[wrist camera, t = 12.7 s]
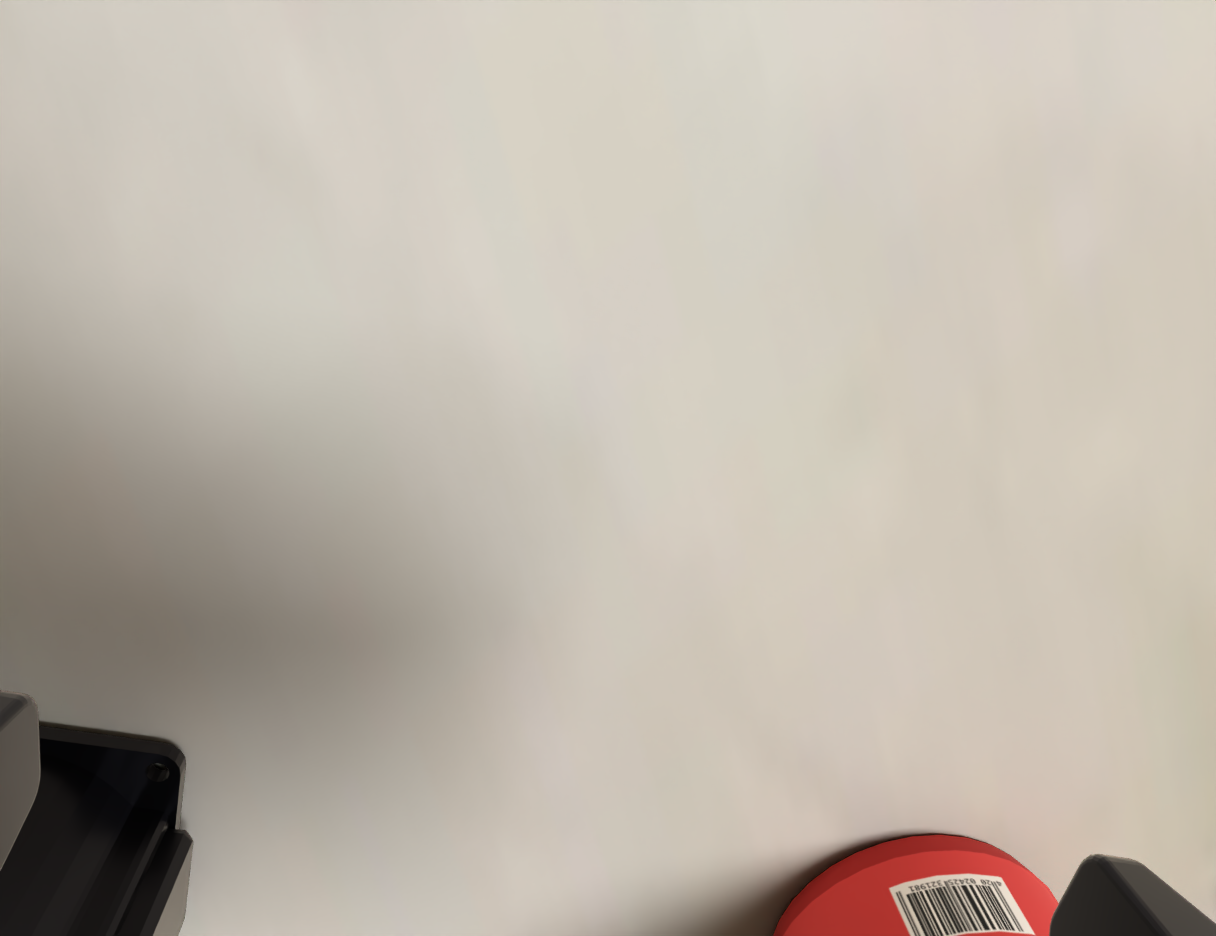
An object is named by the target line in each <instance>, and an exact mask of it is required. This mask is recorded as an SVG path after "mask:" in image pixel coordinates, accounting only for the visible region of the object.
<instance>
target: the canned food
mask: <svg viewBox="0 0 1216 936" xmlns="http://www.w3.org/2000/svg"><path fill="white" fill-rule="evenodd" d="M1058 904H1059V903H1058V902H1057V900H1056V899H1055V897H1054V896H1053V894H1052V892H1051V891H1050V889H1049V888H1048V887H1047V886H1046V885H1045V884H1044V883H1043V882H1042V881H1041V880H1039V879H1038V878H1037V877H1036V876H1035V875H1034V874H1033V873H1032V872H1030V871H1029V870H1028V869H1027V868H1026V867H1024V866H1023V865H1022V864H1021V863H1019V862H1018V861H1017V860H1016V859H1014V858H1013V857H1012V856H1011V855H1009V854H1007V853H1005V852H1003V851H1001V850H1000V849H998V848H996V847H994V846H992V845H990V844H987V843H983V842H980V841H977V840H973V839H970V838H966V837H956V836H947V835H929V836H912V837H907V838H902V839H898V840H893V841H888V842H884V843H881V844H878V845H875V846H873V847H870V848H867V849H864V850H862V851H859V852H856V853H855V854H853V855H851V856H849V857H847V858H845V859H843V860H841V861H840V862H838V863H836V864H834V865H832V866H831V867H829V868H828V869H827V870H825V871H824V872H823V873H821V874H820V875H819V876H817V877H816V878H815V879H813V880H812V881H811V882H809V884H808V885H807V886H806V887H805V888H804V889H803V890H802V891H801V892H800V893H799V894H798V895H797V896H796V897H795V898H794V899H793V900H792V901H791V903H790V904H789V906H788V908H787V909H786V911H785V912H784V914H783V915H782V917H781V918H780V920H779V922H778V924H777V927H776V929H775V932H774V934H773V936H1049V929H1050V923H1051V919H1052V916H1053V913H1054V911H1055V910H1056V908H1057V906H1058Z"/></svg>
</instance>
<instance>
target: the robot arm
mask: <svg viewBox="0 0 1216 936" xmlns="http://www.w3.org/2000/svg"><path fill="white" fill-rule="evenodd" d="M152 763H160V764H163V765H165V766H166V767H167V768H168V770H160V769H158V768H156V767H155V766H154V765H153V764H152ZM185 770H186V760H185V756H184V755H183V753H182V752H181V750H179V749H178V748H176V747H175V746H173V745H170V744H167V743H161V742H154V741H147V740H139V739H132V738H125V737H118V736H110V735H103V734H96V733H88V732H81V731H74V730H67V729H59V728H52V727H45V726H39V719H38V708H37V704H36V702H35V700H34V699H33V698H32V697H30V696H29V695H27V694H22V693H16V692H9V691H2V690H0V936H178V934H179V932H180V929H181V927H182V924H183V921H184V918H185V912H186V903H187V894H188V885H189V876H190V867H191V858H192V849H193V839H192V838H191V836H190V835H189V833H188V832H187V831H186V830H179V827H180V817H181V808H182V798H183V789H184V779H185ZM1049 936H1216V924H1215V923H1214V922H1213V921H1212V920H1211V919H1209V918H1208V917H1207V916H1206V915H1204V914H1203V913H1202V912H1201V911H1199V910H1198V909H1197V908H1196V907H1195V906H1193V905H1192V904H1191V903H1190V902H1188V901H1187V900H1186V899H1185V898H1184V897H1182V896H1181V895H1180V894H1179V893H1177V892H1176V891H1175V890H1174V889H1173V888H1171V887H1170V886H1169V885H1168V884H1166V883H1165V882H1164V881H1163V880H1161V879H1160V878H1159V877H1158V876H1157V875H1155V874H1154V873H1153V872H1152V871H1150V870H1149V869H1148V868H1147V867H1146V866H1144V865H1143V864H1141V863H1140V862H1138V861H1135V860H1132V859H1129V858H1122V857H1115V856H1109V855H1102V854H1094V855H1090V856H1088V857H1087V858H1086V859H1084V860H1083V861H1082V862H1081V864H1080V865H1079V867H1078V869H1077V871H1076V873H1075V875H1074V876H1073V878H1072V880H1071V882H1070V884H1069V886H1068V887H1067V889H1066V891H1065V893H1064V895H1063V897H1062V898H1061V900H1060V902H1059V904H1058V906H1057V908H1056V910H1055V911H1054V913H1053V916H1052V919H1051V923H1050V929H1049Z"/></svg>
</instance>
